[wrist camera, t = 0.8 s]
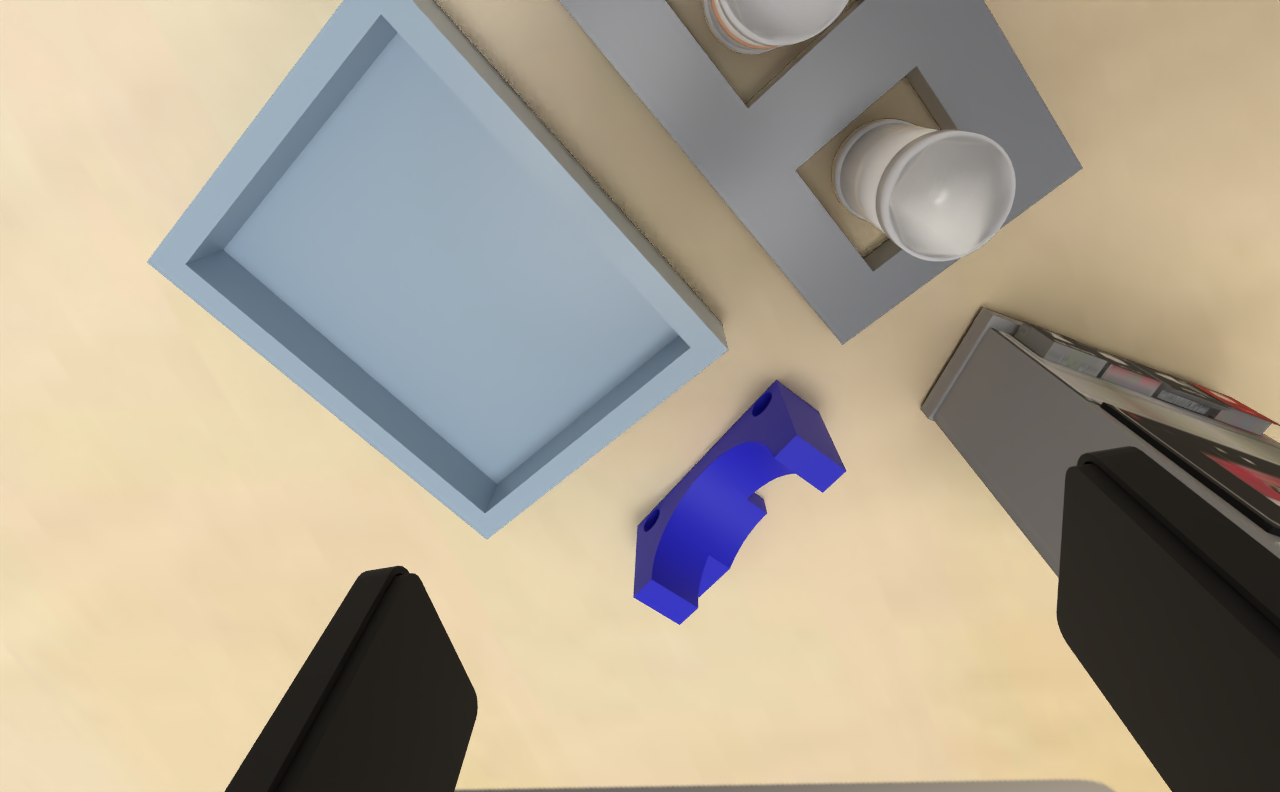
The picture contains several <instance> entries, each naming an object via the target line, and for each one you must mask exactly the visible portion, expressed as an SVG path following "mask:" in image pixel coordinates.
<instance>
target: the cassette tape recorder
mask: <svg viewBox="0 0 1280 792" xmlns="http://www.w3.org/2000/svg"><path fill="white" fill-rule="evenodd" d="M921 410H922V412H923V413H924V414H925V415H926V417H927V418H928V419H930V420H933V421H935V422H936V423H937V425H938V426H939V427H940V428H941V430H942V431H943V432H944V433H945V435H946V436H947V437H948V439H949V440H950V441H951V442H952V444H953V445H954V446H955V447H956V449H957V450H958V451H959V452H960V454H961V455H962V456H963V458H964V459H965V460H966V461H967V463H968V464H969V465H970V466H971V468H972V469H973V470H974V471H975V473H976V474H977V475H978V477H979V478H980V479H981V480H982V482H983V483H984V484H985V485H986V487H987V488H988V489H989V490H990V492H991V493H992V494H993V495H994V497H995V498H996V499H997V501H998V502H999V503H1000V504H1001V506H1002V507H1003V508H1004V509H1005V511H1006V512H1007V513H1008V514H1009V516H1010V517H1011V518H1012V520H1013V521H1014V522H1015V523H1016V525H1017V526H1018V527H1019V528H1020V530H1021V531H1022V532H1023V533H1024V535H1025V536H1026V537H1027V538H1028V540H1029V541H1030V542H1031V544H1032V545H1033V546H1034V547H1035V549H1036V550H1037V551H1038V552H1039V554H1040V555H1041V556H1042V557H1043V559H1044V560H1045V561H1046V563H1047V564H1048V565H1049V566H1050V568H1051V569H1052V570H1053V571H1054V573H1055V574H1056V575H1057V576H1058V578H1059V567H1060V551H1061V536H1062V520H1063V504H1064V488H1065V476H1066V471H1067V470H1068V468H1070V467H1072V466H1077V462H1078V459H1079V458H1080V456H1081V455H1083V454H1085V453H1089V452H1095V451H1101V450H1107V449H1113V448H1119V447H1126V446H1133V447H1136V448H1138V449H1140V450H1141V451H1143V452H1144V453H1145V454H1147V455H1148V456H1149V457H1150V458H1152V459H1153V460H1154V461H1156V462H1157V463H1158V464H1159V465H1161V466H1162V467H1163V468H1164V469H1166V470H1167V471H1168V472H1170V473H1171V474H1172V475H1173V476H1175V477H1176V478H1177V479H1179V480H1180V481H1181V482H1182V483H1184V484H1185V485H1186V486H1187V487H1189V488H1190V489H1191V490H1193V491H1194V492H1195V493H1196V494H1198V495H1199V496H1200V497H1201V498H1203V499H1204V500H1205V501H1207V502H1208V503H1209V504H1210V505H1212V506H1213V507H1214V508H1216V509H1217V510H1218V511H1219V512H1221V513H1222V514H1223V515H1224V516H1226V517H1227V518H1228V519H1230V520H1231V521H1232V522H1233V523H1235V524H1236V525H1237V526H1239V527H1240V528H1241V529H1242V530H1244V531H1245V532H1246V533H1247V534H1249V535H1250V536H1251V537H1253V538H1254V539H1255V540H1256V541H1258V542H1259V543H1260V544H1261V545H1263V546H1264V547H1265V548H1267V549H1268V550H1269V551H1270V552H1272V553H1273V554H1274V555H1276V556H1277V557H1278V558H1279V559H1280V443H1278V442H1277V441H1275V440H1273V439H1272V438H1270V437H1268V436H1266V435H1265V434H1263V432H1264V431H1265V430H1266V429H1267V428H1268V427H1269V426H1270V425H1271V424H1272V423H1273V424H1276V425H1279V424H1278V423H1276V422H1274V421H1272V420H1270V419H1269V418H1267V417H1265V416H1263V415H1262V414H1260V413H1258V412H1256V411H1254V410H1253V409H1251V408H1249V407H1247V406H1245V405H1244V404H1242V403H1240V402H1238V401H1237V400H1235V399H1233V398H1231V397H1229V396H1226V395H1224V394H1221V393H1218V392H1216V391H1213V390H1210V389H1207V388H1205V387H1202V386H1199V385H1196V384H1194V383H1191V382H1188V381H1182V380H1180V379H1178V378H1176V377H1173V376H1170V375H1167V374H1165V373H1162V372H1159V371H1156V370H1154V369H1151V368H1148V367H1146V366H1143V365H1140V364H1137V363H1135V362H1132V361H1129V360H1125V359H1122V358H1119V357H1117V356H1114V355H1111V354H1108V353H1106V352H1103V351H1100V350H1097V349H1095V348H1092V347H1089V346H1087V345H1084V344H1081V343H1078V342H1076V341H1075V340H1073V339H1070V338H1068V337H1065V336H1062V335H1059V334H1057V333H1054V332H1051V331H1048V330H1046V329H1043V328H1040V327H1038V326H1035V325H1032V324H1029V323H1027V322H1021V321H1018V320H1015V319H1013V318H1010V317H1007V316H1004V315H1002V314H999V313H996V312H994V311H991V310H988V309H985V308H982V309H981V311H980V312H979V314H978V316H977V317H976V318H975V320H974V322H973V324H972V326H971V327H970V329H969V330H968V332H967V334H966V335H965V337H964V339H963V340H962V342H961V344H960V345H959V347H958V348H957V350H956V352H955V353H954V355H953V357H952V358H951V360H950V361H949V363H948V365H947V366H946V368H945V370H944V371H943V373H942V375H941V376H940V378H939V379H938V381H937V383H936V384H935V386H934V388H933V389H932V391H931V392H930V394H929V396H928V397H927V399H926V401H925V402H924V404H923V406H922V407H921ZM1279 426H1280V425H1279Z"/></svg>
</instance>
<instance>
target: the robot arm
mask: <svg viewBox="0 0 1280 792" xmlns="http://www.w3.org/2000/svg"><path fill="white" fill-rule="evenodd" d="M1057 621H1058V625H1059V628H1060V631H1061V633H1062V635H1063V638H1064V639H1065V641H1066V642H1067V644H1068V645H1069V647H1070V648H1071V650H1072V651H1073V653H1074V654H1075V655H1076V657H1077V658H1078V660H1079V661H1080V662H1081V664H1082V665H1083V667H1084V668H1085V669H1086V671H1087V672H1088V674H1089V675H1090V677H1091V678H1092V679H1093V681H1094V682H1095V684H1096V685H1097V686H1098V688H1099V689H1100V691H1101V692H1102V693H1103V695H1104V696H1105V698H1106V699H1107V701H1108V702H1109V703H1110V705H1111V706H1112V708H1113V709H1114V710H1115V712H1116V713H1117V715H1118V716H1119V717H1120V719H1121V720H1122V722H1123V723H1124V725H1125V726H1126V727H1127V729H1128V730H1129V732H1130V733H1131V734H1132V736H1133V737H1134V739H1135V740H1136V741H1137V743H1138V744H1139V746H1140V747H1141V749H1142V750H1143V751H1144V753H1145V754H1146V756H1147V757H1148V758H1149V760H1150V761H1151V763H1152V764H1153V765H1154V767H1155V768H1156V770H1157V771H1158V773H1159V774H1160V775H1161V777H1162V778H1163V780H1164V781H1165V782H1166V784H1167V785H1168V787H1169V788H1170V789H1171V791H1172V792H1280V559H1279V558H1278V557H1277V556H1276V555H1274V554H1273V553H1272V552H1270V551H1269V550H1268V549H1267V548H1265V547H1264V546H1263V545H1261V544H1260V543H1259V542H1258V541H1256V540H1255V539H1254V538H1253V537H1251V536H1250V535H1249V534H1247V533H1246V532H1245V531H1244V530H1242V529H1241V528H1240V527H1239V526H1237V525H1236V524H1235V523H1233V522H1232V521H1231V520H1230V519H1228V518H1227V517H1226V516H1224V515H1223V514H1222V513H1221V512H1219V511H1218V510H1217V509H1216V508H1214V507H1213V506H1212V505H1210V504H1209V503H1208V502H1207V501H1205V500H1204V499H1203V498H1201V497H1200V496H1199V495H1198V494H1196V493H1195V492H1194V491H1193V490H1191V489H1190V488H1189V487H1187V486H1186V485H1185V484H1184V483H1182V482H1181V481H1180V480H1179V479H1177V478H1176V477H1175V476H1173V475H1172V474H1171V473H1170V472H1168V471H1167V470H1166V469H1164V468H1163V467H1162V466H1161V465H1159V464H1158V463H1157V462H1156V461H1154V460H1153V459H1152V458H1150V457H1149V456H1148V455H1147V454H1145V453H1144V452H1143V451H1141V450H1140V449H1138V448H1136V447H1133V446H1126V447H1119V448H1113V449H1107V450H1101V451H1095V452H1089V453H1085V454H1083V455H1081V456H1080V458H1079V459H1078V462H1077V466H1072V467H1070V468H1068V470H1067V471H1066V476H1065V488H1064V504H1063V520H1062V536H1061V551H1060V567H1059V583H1058V599H1057ZM477 708H478V705H477V696H476V693H475V690H474V688H473V686H472V684H471V682H470V680H469V678H468V676H467V673H466V671H465V669H464V667H463V665H462V663H461V661H460V659H459V657H458V655H457V653H456V651H455V649H454V647H453V645H452V643H451V641H450V639H449V637H448V635H447V633H446V630H445V628H444V626H443V624H442V622H441V620H440V618H439V616H438V614H437V612H436V610H435V608H434V606H433V604H432V602H431V600H430V598H429V596H428V594H427V592H426V590H425V587H424V585H423V583H422V581H421V580H420V578H419V576H417V575H416V574H413V573H411V574H410V573H409V572H408V570H407V569H406V568H404V567H403V566H394V567H388V568H382V569H376V570H370V571H365V572H363V573H361V575H360V576H359V577H358V578H357V579H356V581H355V583H354V584H353V586H352V587H351V589H350V591H349V592H348V594H347V596H346V597H345V599H344V600H343V602H342V604H341V605H340V607H339V608H338V610H337V612H336V613H335V615H334V616H333V618H332V620H331V621H330V623H329V624H328V626H327V628H326V629H325V631H324V633H323V634H322V636H321V637H320V639H319V641H318V642H317V644H316V645H315V647H314V649H313V650H312V652H311V653H310V655H309V657H308V658H307V660H306V661H305V663H304V665H303V666H302V668H301V669H300V671H299V673H298V674H297V676H296V678H295V679H294V681H293V682H292V684H291V686H290V687H289V689H288V690H287V692H286V694H285V695H284V697H283V698H282V700H281V702H280V703H279V705H278V706H277V708H276V710H275V711H274V713H273V715H272V716H271V718H270V719H269V721H268V723H267V724H266V726H265V727H264V729H263V731H262V732H261V734H260V735H259V737H258V739H257V740H256V742H255V743H254V745H253V747H252V748H251V750H250V752H249V753H248V755H247V756H246V758H245V760H244V761H243V763H242V764H241V766H240V768H239V769H238V771H237V772H236V774H235V776H234V777H233V779H232V780H231V782H230V784H229V785H228V787H227V788H226V790H225V792H454V790H455V787H456V784H457V780H458V777H459V774H460V770H461V767H462V764H463V760H464V757H465V754H466V750H467V747H468V744H469V740H470V737H471V733H472V730H473V727H474V723H475V720H476V716H477Z"/></svg>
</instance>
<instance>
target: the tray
mask: <svg viewBox="0 0 1280 792" xmlns="http://www.w3.org/2000/svg"><path fill="white" fill-rule="evenodd" d="M147 263H149V264H150V265H151V266H152V267H153V268H155V269H156V270H157V271H158V272H160V273H161V274H162V275H163V276H164V277H166V278H167V279H168V280H169V281H171V282H172V283H173V284H174V285H176V286H177V287H178V288H179V289H180V290H182V291H183V292H184V293H185V294H187V295H188V296H189V297H190V298H191V299H193V300H194V301H195V302H196V303H198V304H199V305H200V306H201V307H202V308H204V309H205V310H206V311H207V312H209V313H210V314H211V315H212V316H214V317H215V318H216V319H217V320H218V321H220V322H221V323H222V324H223V325H225V326H226V327H227V328H228V329H229V330H231V331H232V332H233V333H234V334H236V335H237V336H238V337H239V338H240V339H242V340H243V341H244V342H245V343H247V344H248V345H249V346H250V347H252V348H253V349H254V350H255V351H256V352H258V353H259V354H260V355H261V356H263V357H264V358H265V359H266V360H267V361H269V362H270V363H271V364H272V365H274V366H275V367H276V368H277V369H278V370H280V371H281V372H282V373H283V374H285V375H286V376H287V377H288V378H289V379H291V380H292V381H293V382H294V383H296V384H297V385H298V386H299V387H301V388H302V389H303V390H304V391H305V392H307V393H308V394H309V395H310V396H312V397H313V398H314V399H315V400H316V401H318V402H319V403H320V404H321V405H323V406H324V407H325V408H326V409H327V410H329V411H330V412H331V413H332V414H334V415H335V416H336V417H337V418H339V419H340V420H341V421H342V422H343V423H345V424H346V425H347V426H348V427H350V428H351V429H352V430H353V431H354V432H356V433H357V434H358V435H359V436H361V437H362V438H363V439H364V440H365V441H367V442H368V443H369V444H370V445H372V446H373V447H374V448H375V449H377V450H378V451H379V452H380V453H381V454H383V455H384V456H385V457H386V458H388V459H389V460H390V461H391V462H392V463H394V464H395V465H396V466H397V467H399V468H400V469H401V470H402V471H403V472H405V473H406V474H407V475H408V476H410V477H411V478H412V479H413V480H414V481H416V482H417V483H418V484H419V485H421V486H422V487H423V488H424V489H426V490H427V491H428V492H429V493H430V494H432V495H433V496H434V497H435V498H437V499H438V500H439V501H440V502H441V503H443V504H444V505H445V506H446V507H448V508H449V509H450V510H451V511H452V512H454V513H455V514H456V515H457V516H459V517H460V518H461V519H462V520H464V521H465V522H466V523H467V524H468V525H470V526H471V527H472V528H473V529H475V530H476V531H477V532H478V533H479V534H481V535H482V536H483V537H484V538H486V539H488V538H490V537H491V536H492V535H493V534H495V533H496V532H497V531H498V530H500V529H501V528H502V527H504V526H505V525H506V524H507V523H509V522H510V521H511V520H512V519H514V518H515V517H516V516H518V515H519V514H520V513H521V512H523V511H524V510H525V509H526V508H528V507H529V506H530V505H532V504H533V503H534V502H535V501H537V500H538V499H539V498H540V497H542V496H543V495H544V494H546V493H547V492H548V491H549V490H551V489H552V488H553V487H554V486H556V485H557V484H558V483H560V482H561V481H562V480H563V479H565V478H566V477H567V476H568V475H570V474H571V473H572V472H574V471H575V470H576V469H577V468H579V467H580V466H581V465H582V464H584V463H585V462H586V461H588V460H589V459H590V458H591V457H593V456H594V455H595V454H596V453H598V452H599V451H600V450H602V449H603V448H604V447H605V446H607V445H608V444H609V443H610V442H612V441H613V440H614V439H616V438H617V437H618V436H619V435H621V434H622V433H623V432H624V431H626V430H627V429H628V428H630V427H631V426H632V425H633V424H635V423H636V422H637V421H638V420H640V419H641V418H642V417H644V416H645V415H646V414H647V413H649V412H650V411H651V410H652V409H654V408H655V407H656V406H658V405H659V404H660V403H661V402H663V401H664V400H665V399H666V398H668V397H669V396H670V395H672V394H673V393H674V392H675V391H677V390H678V389H679V388H681V387H682V386H683V385H684V384H686V383H687V382H688V381H689V380H691V379H692V378H693V377H695V376H696V375H697V374H698V373H700V372H701V371H702V370H703V369H705V368H706V367H707V366H709V365H710V364H711V363H712V362H714V361H715V360H716V359H717V358H719V357H720V356H721V355H723V354H724V353H725V352H726V351H728V347H727V342H726V338H725V334H724V329H723V325H722V323H721V322H720V321H719V320H718V318H717V317H716V316H715V315H714V314H713V313H712V312H711V311H710V310H709V308H708V307H707V306H706V305H705V304H704V303H703V302H702V301H701V299H700V298H699V297H698V296H697V295H696V294H695V293H694V292H693V290H692V289H691V288H690V287H689V286H688V285H687V284H686V283H685V282H684V280H683V279H682V278H681V277H680V276H679V275H678V274H677V273H676V271H675V270H674V269H673V268H672V267H671V266H670V265H669V264H668V262H667V261H666V260H665V259H664V258H663V257H662V256H661V255H660V254H659V252H658V251H657V250H656V249H655V248H654V247H653V246H652V245H651V243H650V242H649V241H648V240H647V239H646V238H645V237H644V236H643V234H642V233H641V232H640V231H639V230H638V229H637V228H636V227H635V226H634V224H633V223H632V222H631V221H630V220H629V219H628V218H627V217H626V215H625V214H624V213H623V212H622V211H621V210H620V209H619V208H618V206H617V205H616V204H615V203H614V202H613V201H612V200H611V199H610V198H609V196H608V195H607V194H606V193H605V192H604V191H603V190H602V189H601V187H600V186H599V185H598V184H597V183H596V182H595V181H594V180H593V178H592V177H591V176H590V175H589V174H588V173H587V172H586V171H585V170H584V168H583V167H582V166H581V165H580V164H579V163H578V162H577V161H576V159H575V158H574V157H573V156H572V155H571V154H570V153H569V152H568V150H567V149H566V148H565V147H564V146H563V145H562V144H561V143H560V142H559V140H558V139H557V138H556V137H555V136H554V135H553V134H552V133H551V131H550V130H549V129H548V128H547V127H546V126H545V125H544V124H543V122H542V121H541V120H540V119H539V118H538V117H537V116H536V115H535V114H534V112H533V111H532V110H531V109H530V108H529V107H528V106H527V105H526V103H525V102H524V101H523V100H522V99H521V98H520V97H519V96H518V94H517V93H516V92H515V91H514V90H513V89H512V88H511V87H510V86H509V84H508V83H507V82H506V81H505V80H504V79H503V78H502V77H501V75H500V74H499V73H498V72H497V71H496V70H495V69H494V68H493V66H492V65H491V64H490V63H489V62H488V61H487V60H486V59H485V58H484V56H483V55H482V54H481V53H480V52H479V51H478V50H477V49H476V47H475V46H474V45H473V44H472V43H471V42H470V41H469V40H468V38H467V37H466V36H465V35H464V34H463V33H462V32H461V31H460V30H459V28H458V27H457V26H456V25H455V24H454V23H453V22H452V21H451V19H450V18H449V17H448V16H447V15H446V14H445V13H444V12H443V10H442V9H441V8H440V7H439V6H438V5H437V4H436V3H435V2H434V0H344V1H343V2H342V3H341V5H340V6H339V7H338V9H337V10H336V11H335V13H334V14H333V15H332V17H331V18H330V19H329V21H328V22H327V23H326V25H325V26H324V27H323V29H322V30H321V31H320V33H319V34H318V35H317V37H316V38H315V39H314V41H313V42H312V43H311V45H310V46H309V47H308V49H307V50H306V51H305V53H304V54H303V55H302V56H301V58H300V59H299V60H298V62H297V63H296V64H295V66H294V67H293V68H292V70H291V71H290V72H289V74H288V75H287V76H286V78H285V79H284V80H283V82H282V83H281V84H280V86H279V87H278V88H277V90H276V91H275V92H274V94H273V95H272V96H271V98H270V99H269V100H268V102H267V103H266V104H265V106H264V107H263V108H262V110H261V111H260V112H259V114H258V115H257V116H256V118H255V119H254V120H253V122H252V123H251V124H250V126H249V127H248V128H247V130H246V131H245V132H244V134H243V135H242V136H241V138H240V139H239V140H238V142H237V143H236V144H235V146H234V147H233V148H232V150H231V151H230V152H229V154H228V155H227V156H226V158H225V159H224V160H223V162H222V163H221V164H220V166H219V167H218V168H217V170H216V171H215V172H214V174H213V175H212V176H211V178H210V179H209V180H208V181H207V183H206V184H205V185H204V187H203V188H202V189H201V191H200V192H199V193H198V195H197V196H196V197H195V199H194V200H193V201H192V203H191V204H190V205H189V207H188V208H187V209H186V211H185V212H184V213H183V215H182V216H181V217H180V219H179V220H178V221H177V223H176V224H175V225H174V227H173V228H172V229H171V231H170V232H169V233H168V235H167V236H166V237H165V239H164V240H163V241H162V243H161V244H160V245H159V247H158V248H157V249H156V251H155V252H154V253H153V255H152V256H151V257H150V259H149V260H148V261H147Z"/></svg>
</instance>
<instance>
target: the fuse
mask: <svg viewBox="0 0 1280 792" xmlns="http://www.w3.org/2000/svg"><path fill="white" fill-rule="evenodd" d="M831 181H832V187H833V190H834V193H835V195H836V197H837V199H838V200H839V202H840V203H841V204H842V205H843V207H845V208H846V209H847V210H848V211H850V212H851V213H852V214H854V215H855V216H857V217H859V218H860V219H863V220H865V221H868V222H870V223H871V224H873V225H874V226H875V227H877V228H878V229H880V230H881V231H883V232H884V233H885V234H886V236H887V237H888V238H889V239H890V240H891V241H892V242H894V243H895V244H896V245H897V246H899V247H900V248H902V249H903V250H904V251H906V252H907V253H909V254H911V255H912V256H915V257H917V258H919V259H923V260H927V261H949V260H953V259H957V258H960V257H963V256H966V255H968V254H970V253H972V252H974V251H975V250H977V249H979V248H980V247H982V246H983V245H984V244H985V243H987V242H988V241H989V240H990V239H991V238H992V237H993V236H994V235H995V234H996V233H997V231H998V230H999V229H1000V228H1001V226H1002V225H1003V223H1004V222H1005V220H1006V218H1007V216H1008V214H1009V212H1010V210H1011V207H1012V204H1013V200H1014V196H1015V188H1016V179H1015V172H1014V168H1013V165H1012V162H1011V160H1010V158H1009V156H1008V155H1007V153H1006V152H1005V151H1004V149H1003V148H1002V147H1001V146H1000V145H999V144H998V143H996V142H995V141H993V140H992V139H990V138H988V137H986V136H984V135H980V134H977V133H972V132H966V131H960V130H936V129H930V128H925V127H919V126H917V125H915V124H912V123H910V122H906V121H901V120H895V119H879V120H874V121H871V122H868V123H866V124H864V125H862V126H860V127H859V128H857V129H856V130H854V131H853V132H852V133H851V134H850V135H849V136H848V137H847V138H846V139H845V140H844V141H843V143H842V144H841V146H840V147H839V149H838V151H837V153H836V155H835V158H834V161H833V165H832V172H831Z"/></svg>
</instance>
